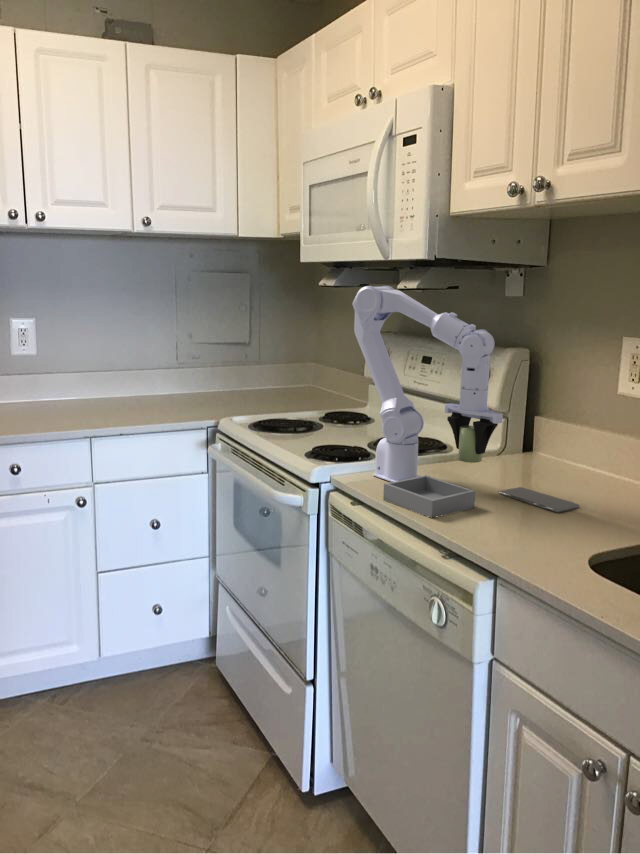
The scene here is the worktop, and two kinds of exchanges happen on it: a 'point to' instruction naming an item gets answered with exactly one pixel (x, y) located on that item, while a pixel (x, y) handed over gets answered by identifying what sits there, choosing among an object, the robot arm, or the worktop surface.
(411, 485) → the grey bin
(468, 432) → the green cylinder
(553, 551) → the worktop surface
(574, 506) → the smartphone
